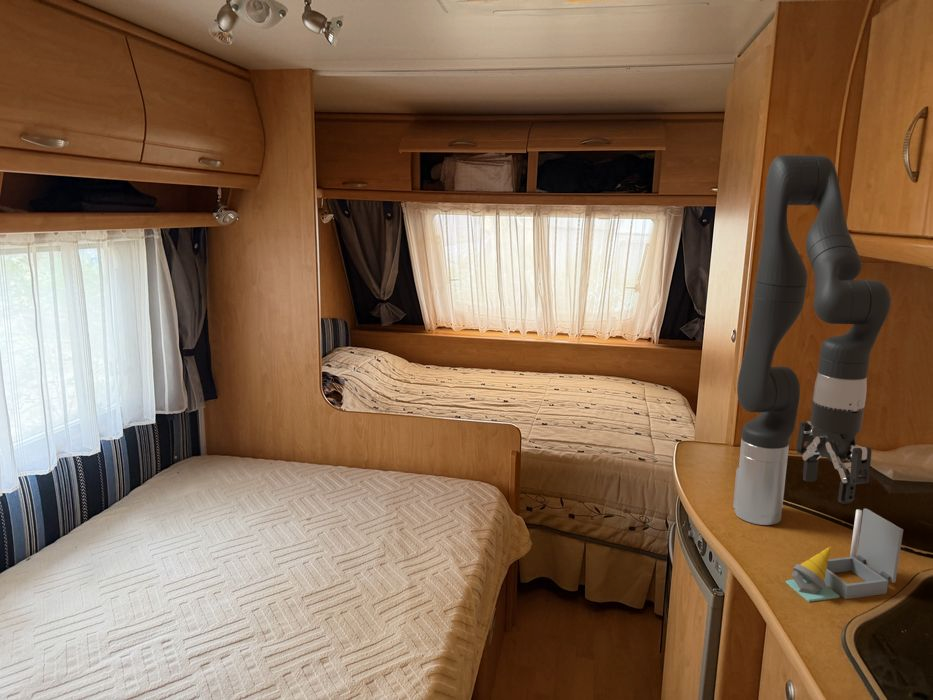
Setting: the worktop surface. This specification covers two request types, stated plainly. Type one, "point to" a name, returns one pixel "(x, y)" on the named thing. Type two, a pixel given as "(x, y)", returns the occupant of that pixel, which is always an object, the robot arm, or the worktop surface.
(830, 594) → the mat
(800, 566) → the drill bit
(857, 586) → the case
